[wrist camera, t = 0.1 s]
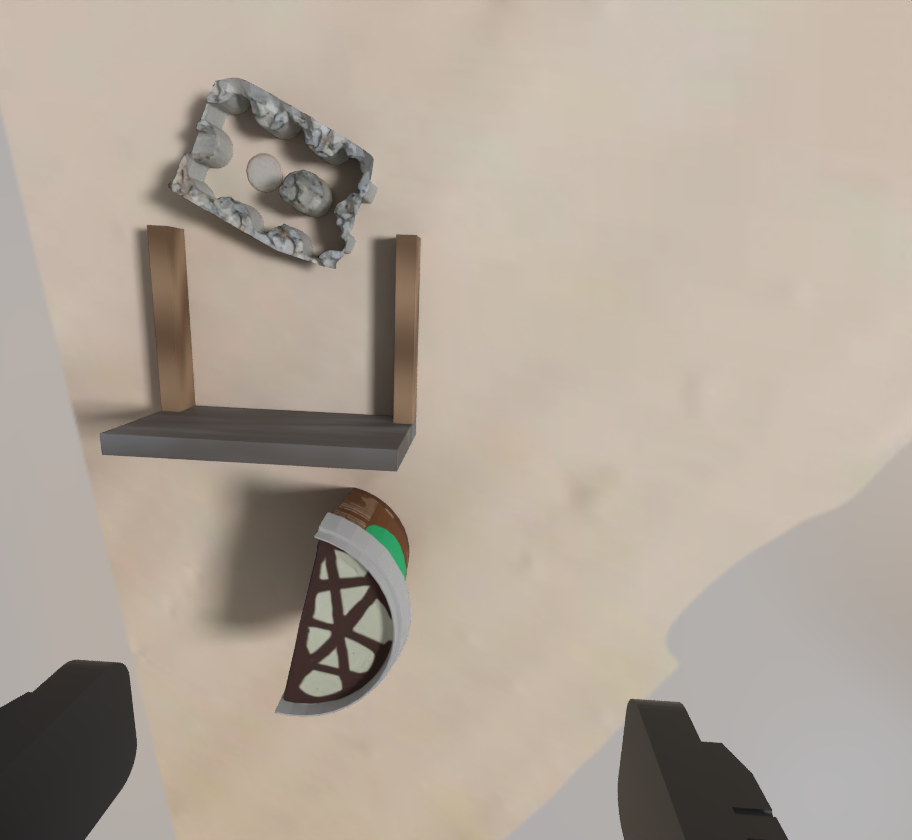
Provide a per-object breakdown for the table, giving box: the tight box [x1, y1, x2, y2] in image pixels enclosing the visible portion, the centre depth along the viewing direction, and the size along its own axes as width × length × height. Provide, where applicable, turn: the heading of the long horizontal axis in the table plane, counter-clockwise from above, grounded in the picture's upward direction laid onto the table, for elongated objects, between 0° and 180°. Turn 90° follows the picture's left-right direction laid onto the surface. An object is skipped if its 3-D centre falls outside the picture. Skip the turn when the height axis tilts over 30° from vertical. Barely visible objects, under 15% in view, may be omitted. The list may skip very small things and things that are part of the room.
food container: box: [275, 488, 411, 717], centre depth 35 cm, size 12×6×10 cm, turn 165°
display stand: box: [100, 225, 421, 471], centre depth 33 cm, size 13×16×8 cm
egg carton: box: [168, 78, 377, 269], centre depth 33 cm, size 11×8×4 cm
